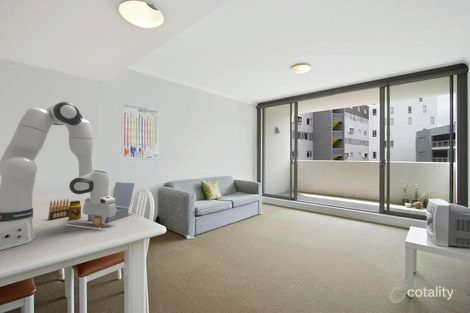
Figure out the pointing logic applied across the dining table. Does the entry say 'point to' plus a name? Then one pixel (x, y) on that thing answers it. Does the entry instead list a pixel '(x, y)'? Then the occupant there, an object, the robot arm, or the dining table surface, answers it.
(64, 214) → the ammunition clip
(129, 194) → the lid
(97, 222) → the brown wide rounded part
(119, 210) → the housing
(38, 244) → the dining table surface
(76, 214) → the condiment
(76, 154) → the robot arm
